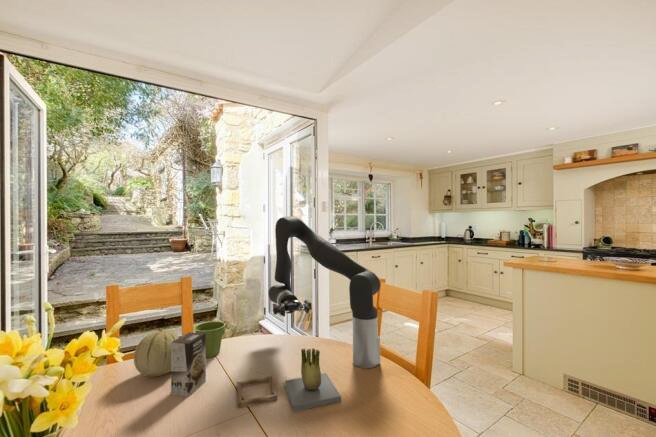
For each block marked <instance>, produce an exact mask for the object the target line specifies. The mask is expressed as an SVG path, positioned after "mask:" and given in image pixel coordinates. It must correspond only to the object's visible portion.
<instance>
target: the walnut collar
mask: <svg viewBox="0 0 656 437" xmlns="http://www.w3.org/2000/svg"><path fill="white" fill-rule="evenodd" d="M263 383H269V386H270V391H271V394H270V395H269V394H268V395H265V396H260V397H255V398H250V399H244V400H242V399H243V396H242V387H246V386H251V385H258V384H263ZM236 389H237V390H236V391H237V406H238V408H243V407H248V406H254V405H258V404H264V403H269V402H275V401H277V400H278V393H277V390H276V387H275V383H274V380H273V377H272V375H268V376H264V377H257V378H252V379H245V380H241V381H240V380H239V381H237V382H236Z"/></svg>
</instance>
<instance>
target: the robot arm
mask: <svg viewBox="0 0 656 437" xmlns="http://www.w3.org/2000/svg"><path fill="white" fill-rule="evenodd" d="M274 228H275V229H274V230H275V231H274V232H275V235H274V236H275V248H276V249H275V252H276V254H275V255H276V256H275V257H276V261H275V262H276V263H275V268H274V269H275V271H274V280H275V281H276V283H280V284H281V285H272V286H271V287H270V288H269V289H268V298H269V300H270V301H271V302H272V303H273V304H272V312H273V315H277V314H278V315H280V316H282V317H285V316H286V314H293V313H295V312H303V311H304V312H305V313H306V314H309V312H310V311H311V310H313V308H312V307H313V306H312V305H313V304H312V302H311V301H310V300H309V299H304V300H303V301H301V300H299V299H298V297H297V296H296V295H295V294H294V293H293V291H292V284H291V275H292V274H291V273H292V266H293V265H292V259H291V257H290V254H289V250H288V243H289V240H290V238H296V239H298V240H300V241H301V242H302V243H304V244H305V245H306V246H305V247H306V248H307V250H308V253H309V255H310V257H311V258H312V260H313V259H314V261H316V262H317V263H318V264H319V265H321V266H322V267H323V268H326V269H327V270H330V271H333V272H335V273H338V274H339V275H341V276H344V277H345V278H347V279H348V280H349V286H348V287H349V289H348V290H349V307H350V309H351V313H352V314H351V315H352V316H351V317H352V363H353V365H354V366H356V367H358V368H361V369H373V368H375V367H377V366H378V365H381V339H380V336H379V334H378V332H379V330H378V321H379V320H378V308H377V307H375V305H374V296H375V295H376V294H378V292H380V289H381V280H380V278H379V277H378V276H377V274H376V273H374V272H373V271H371V270H369V269H368V268H366V267H364V266H363V265H361V264H359V263H357V262H356V261H355V260H353V259H352V258H350V257H349V255H346V254H345V253H344V252H342V251H341V250H340V249H339V248H337V247H336V246H335V245H333V244H332V243H331V242H329V241H328V240H327V239H325V238H324V237H322V236H321V235H320V234H318V233H317V232H315V231H314V230H313V229H312V228H310V227H309V226H308V225H307V224H306V223H305V222H304V221H303V220H302V219H301V218H299V217H298V216H294V215H293V216H283V217H280V218H278V219H277V220H276V223H275V227H274ZM282 284H283V285H282Z"/></svg>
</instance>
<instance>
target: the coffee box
mask: <svg viewBox="0 0 656 437" xmlns="http://www.w3.org/2000/svg"><path fill="white" fill-rule="evenodd" d="M206 359H207V357H206V333H196V332H187V333H186V334H184V335H182V336H180V337H179V338H178V339H176V340H175V341H173V342H171V371H170V394H171V395H172V396H173V395H175V396H181V397H190V396H191V395H192V394H193V393H194V392H195V391H196V390H197V389H199V388H200V387H201V386H202V385H203V384H204V383H206V382H207V380H206V378H207V377H206V376H207V374H206V372H207V371H206V370H207V369H206V368H207V367H206V366H207V364H206V363H207V361H206Z"/></svg>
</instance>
